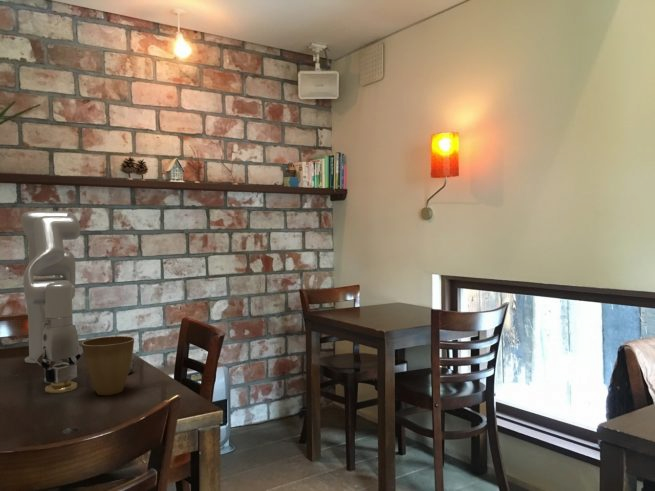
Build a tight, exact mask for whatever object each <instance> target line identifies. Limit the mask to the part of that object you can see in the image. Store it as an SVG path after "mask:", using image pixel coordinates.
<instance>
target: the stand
mask: <svg viewBox="0 0 655 491" xmlns="http://www.w3.org/2000/svg"><path fill="white" fill-rule="evenodd" d="M59 363H63V359H62V360H57V361H54V365H55V364H59ZM74 379H75V378H72V379H71V381H73V380H74ZM43 380H44V381H43V382H44V384H51V382H47V381H46V380H45V377H44V378H43Z"/></svg>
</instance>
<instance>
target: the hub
mask: <svg viewBox="0 0 655 491" xmlns="http://www.w3.org/2000/svg"><path fill="white" fill-rule="evenodd" d="M77 388H78V383H77V382H75V381H72V380H71V379H68V380H65V381H61V382H52V383H50V384H48V385H46V386H45V388H44V392H45V393H47V394H62V393H66V392H67V393H69V392H72V391H74V390H76V389H77Z"/></svg>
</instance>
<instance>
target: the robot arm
mask: <svg viewBox="0 0 655 491" xmlns="http://www.w3.org/2000/svg"><path fill="white" fill-rule="evenodd" d="M20 224H21V227H22V229H23V231H24V233H25V236H26V238H27V242H28V264H27V266H26V268H25V269H24V273H23V291H24V292H23V293H24V297H25V301H26V306H27V307H26V309H27V322H28V324H27V325H28V331H27V332H28V354H29V355H28V356H26V357H25V358H24V362H25V363H26V364H38V365H39V366H40V367H42V369H43V370H44V378H45V379H46V381H47V382H51V383H52V382H54V370H53V369H52V367H53V365H55V361H59V360H62V361H63V360H66V359H67V361H68V363H71V364H76V365H77V364H78V361H79V359H80V358H81V356H82V354H84V353H83V348H82V345H80V343H79V342H80V341H79V335H78V330H77V326H76V324H73V320H74V318H73V299H74V297H75V294H76V268H77V267H76V258H75V256H74V253H72V251H69V250H65V248H64V243H63V242H64V241H65V240H68V241H69V240H77V239H78V238H79V237H80V234H81V226H80V222H79V220H78V217H76V215H75V214H74V212H72V211H67V210H64V211H62V210H59V211H58V210H31V211H30V210H29V211H25V212H23V213H22V215H21V216H20ZM34 276H35V277H36V276H37V277H38V278H34ZM49 276H52V277H49ZM55 276H58V277H55ZM39 277H40V278H39ZM51 383H50V384H51Z"/></svg>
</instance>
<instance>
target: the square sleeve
mask: <svg viewBox="0 0 655 491" xmlns="http://www.w3.org/2000/svg"><path fill="white" fill-rule="evenodd" d="M77 366H78V364H77V363H76V364H71V363H69V362H63V363H59V364H55V363H54V364H53V367H52V369H53V370H54V382H61V381H65V380H68V379H72V378H74V379H75V378H78V370H77V369H78V367H77ZM45 380H46V379H45Z"/></svg>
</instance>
